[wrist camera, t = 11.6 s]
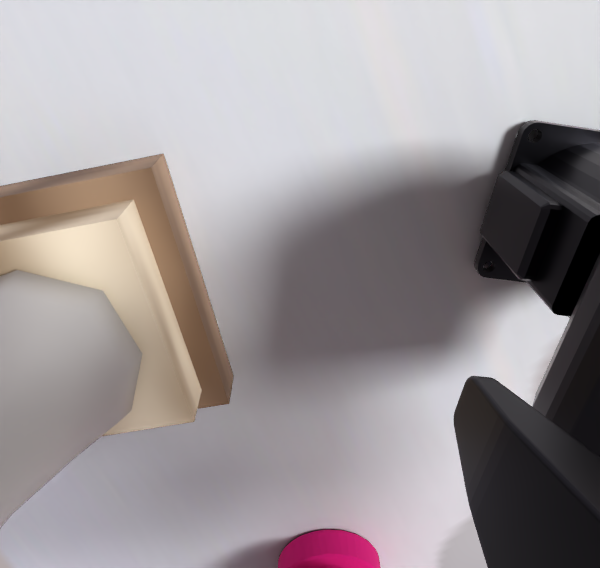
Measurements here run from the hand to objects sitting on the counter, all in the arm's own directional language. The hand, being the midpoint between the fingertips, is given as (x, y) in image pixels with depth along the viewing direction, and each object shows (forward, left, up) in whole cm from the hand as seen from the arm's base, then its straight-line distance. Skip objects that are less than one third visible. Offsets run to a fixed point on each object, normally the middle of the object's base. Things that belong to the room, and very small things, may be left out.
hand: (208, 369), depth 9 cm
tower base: (+7, +7, -13) cm, 16 cm away
